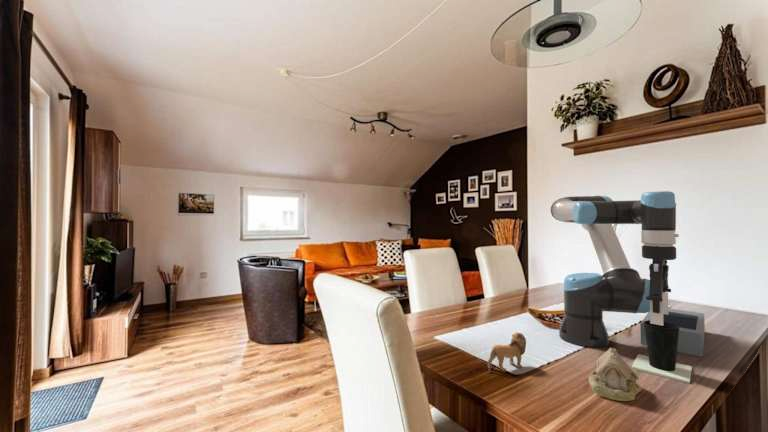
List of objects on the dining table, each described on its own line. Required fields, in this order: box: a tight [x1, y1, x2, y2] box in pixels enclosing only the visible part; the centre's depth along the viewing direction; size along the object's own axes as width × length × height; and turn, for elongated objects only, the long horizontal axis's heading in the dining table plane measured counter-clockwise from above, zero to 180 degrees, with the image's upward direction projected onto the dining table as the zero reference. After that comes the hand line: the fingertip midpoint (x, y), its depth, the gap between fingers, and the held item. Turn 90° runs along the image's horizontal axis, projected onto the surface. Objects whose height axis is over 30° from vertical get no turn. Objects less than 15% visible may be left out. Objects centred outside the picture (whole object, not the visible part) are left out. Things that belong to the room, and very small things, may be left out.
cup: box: [644, 320, 679, 371], centre depth 91 cm, size 8×8×12 cm
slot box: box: [640, 307, 706, 358], centre depth 115 cm, size 15×32×7 cm, turn 134°
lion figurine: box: [487, 331, 527, 372], centre depth 92 cm, size 15×5×9 cm, turn 119°
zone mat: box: [631, 353, 693, 384], centre depth 91 cm, size 12×12×1 cm
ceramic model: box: [588, 347, 643, 402], centre depth 80 cm, size 14×11×10 cm
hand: (659, 318), depth 91 cm, fingers open, 13 cm apart
